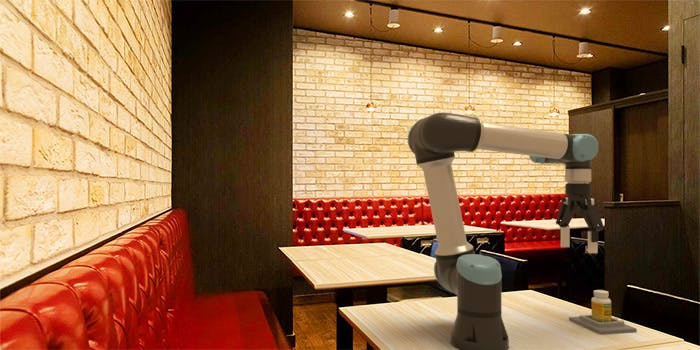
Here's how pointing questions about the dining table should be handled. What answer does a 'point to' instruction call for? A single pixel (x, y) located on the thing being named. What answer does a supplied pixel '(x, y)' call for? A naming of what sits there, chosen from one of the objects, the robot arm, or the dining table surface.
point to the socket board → (603, 325)
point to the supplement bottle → (601, 306)
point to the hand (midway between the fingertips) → (578, 250)
